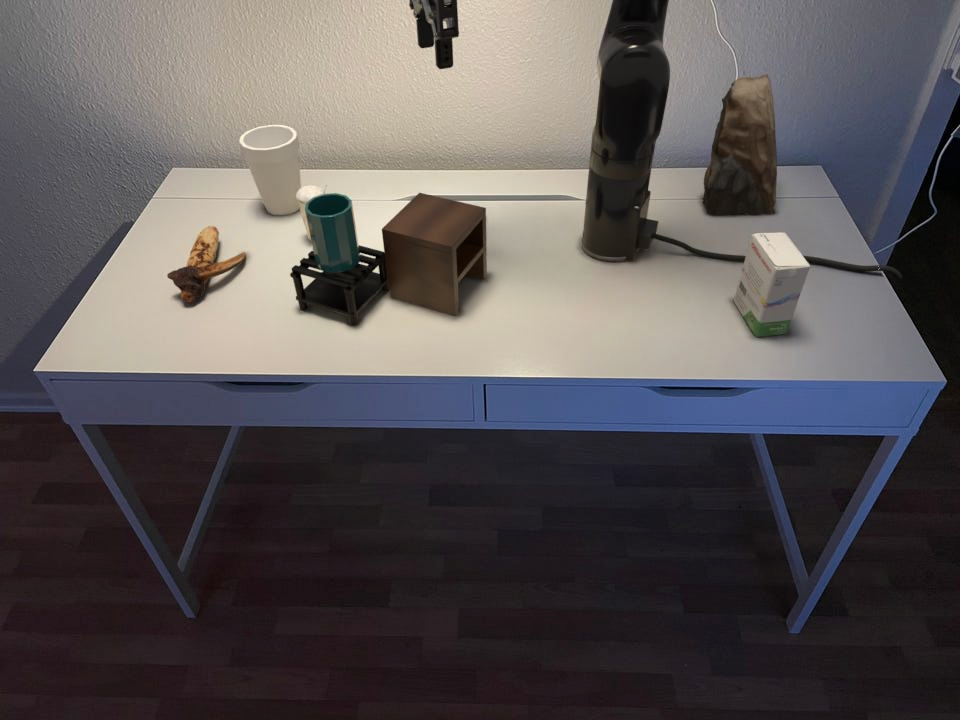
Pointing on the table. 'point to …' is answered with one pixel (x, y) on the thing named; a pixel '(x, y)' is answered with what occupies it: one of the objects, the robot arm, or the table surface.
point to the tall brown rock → (743, 152)
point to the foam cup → (274, 165)
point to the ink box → (770, 283)
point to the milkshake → (304, 196)
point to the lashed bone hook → (202, 265)
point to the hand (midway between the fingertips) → (435, 56)
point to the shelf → (434, 251)
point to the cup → (333, 232)
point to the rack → (342, 284)
